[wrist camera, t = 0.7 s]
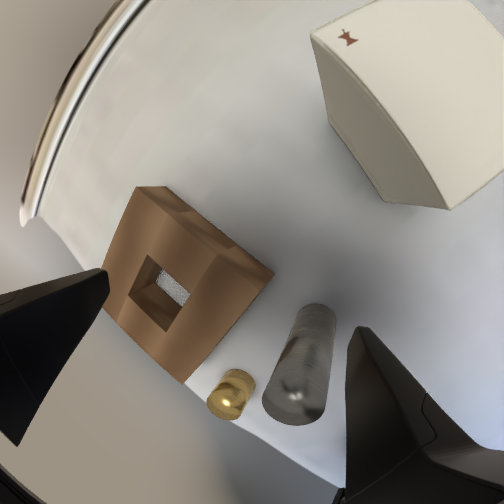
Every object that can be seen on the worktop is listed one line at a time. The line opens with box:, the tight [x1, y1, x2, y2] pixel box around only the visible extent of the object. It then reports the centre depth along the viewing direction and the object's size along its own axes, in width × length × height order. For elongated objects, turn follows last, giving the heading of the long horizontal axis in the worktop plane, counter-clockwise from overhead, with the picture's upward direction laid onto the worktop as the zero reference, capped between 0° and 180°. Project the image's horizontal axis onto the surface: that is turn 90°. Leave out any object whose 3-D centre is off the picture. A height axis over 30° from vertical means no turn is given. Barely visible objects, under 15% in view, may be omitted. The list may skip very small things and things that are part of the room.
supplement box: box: [310, 0, 504, 211], centre depth 11 cm, size 7×7×13 cm
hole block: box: [101, 187, 274, 384], centre depth 23 cm, size 12×12×4 cm
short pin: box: [207, 369, 255, 420], centre depth 23 cm, size 3×3×4 cm
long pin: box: [262, 304, 336, 426], centre depth 17 cm, size 3×3×10 cm
